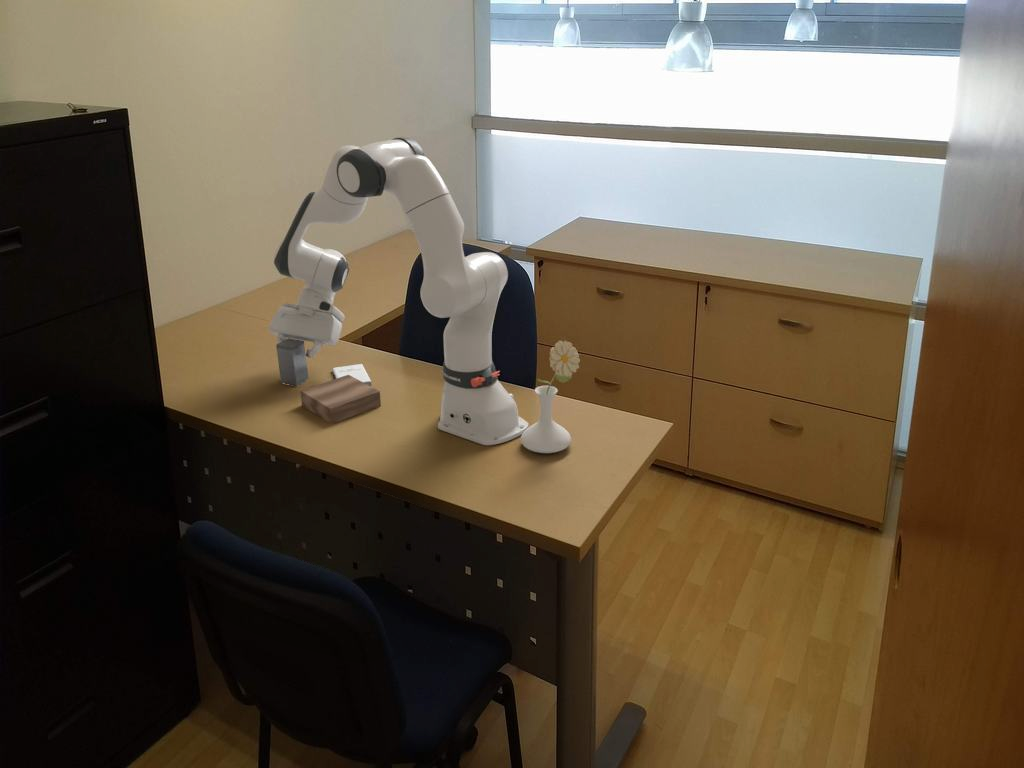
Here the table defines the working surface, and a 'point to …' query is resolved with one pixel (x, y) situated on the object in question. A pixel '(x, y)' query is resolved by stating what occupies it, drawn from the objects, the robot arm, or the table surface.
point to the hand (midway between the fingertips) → (294, 354)
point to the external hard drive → (353, 373)
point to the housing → (292, 361)
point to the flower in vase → (546, 431)
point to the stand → (340, 398)
